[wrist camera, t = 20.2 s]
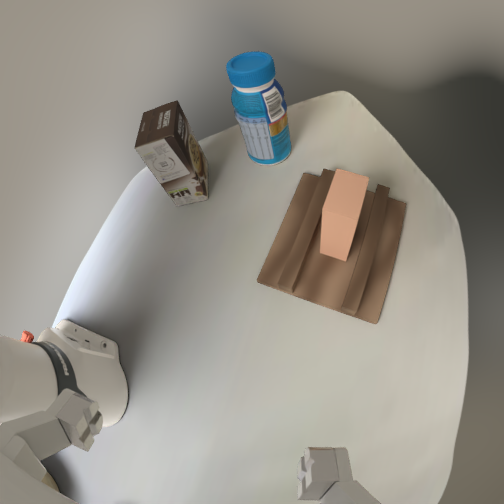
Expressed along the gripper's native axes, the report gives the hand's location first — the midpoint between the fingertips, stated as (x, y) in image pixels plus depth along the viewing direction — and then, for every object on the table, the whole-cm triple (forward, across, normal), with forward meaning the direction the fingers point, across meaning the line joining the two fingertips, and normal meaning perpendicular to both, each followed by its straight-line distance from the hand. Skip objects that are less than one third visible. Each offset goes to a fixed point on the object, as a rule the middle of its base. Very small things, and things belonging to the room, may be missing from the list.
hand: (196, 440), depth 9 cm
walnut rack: (+35, -12, -1) cm, 37 cm away
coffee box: (+46, +13, -5) cm, 48 cm away
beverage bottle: (+49, 0, -13) cm, 50 cm away
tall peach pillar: (+34, -12, -1) cm, 36 cm away
